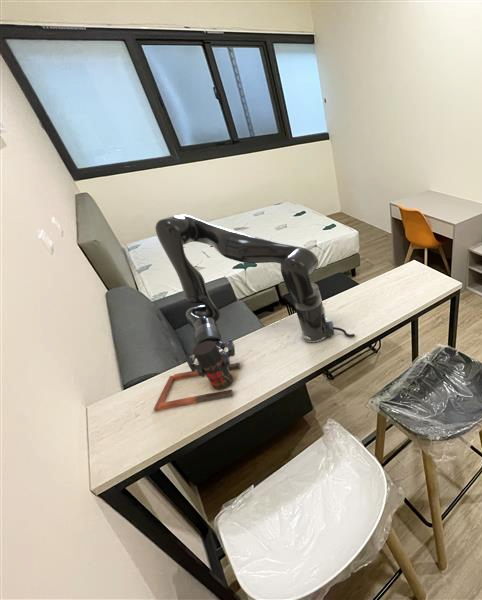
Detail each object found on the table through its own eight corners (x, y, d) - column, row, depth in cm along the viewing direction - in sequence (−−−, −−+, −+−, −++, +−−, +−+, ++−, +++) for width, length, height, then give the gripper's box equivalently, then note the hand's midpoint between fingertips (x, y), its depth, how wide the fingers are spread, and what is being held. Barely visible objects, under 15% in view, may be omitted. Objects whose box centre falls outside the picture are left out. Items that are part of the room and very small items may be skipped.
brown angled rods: (240, 365, 108) (239, 362, 107) (232, 396, 97) (230, 393, 96) (171, 378, 104) (169, 375, 104) (155, 411, 94) (152, 408, 93)
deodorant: (209, 385, 101) (188, 350, 93) (226, 372, 105) (208, 338, 97) (219, 393, 98) (199, 357, 90) (237, 380, 102) (219, 345, 94)
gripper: (178, 339, 102) (181, 371, 90) (227, 322, 108) (235, 350, 96) (188, 356, 106) (193, 389, 95) (234, 339, 113) (244, 368, 101)
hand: (214, 369), depth 95 cm, fingers closed on deodorant, 6 cm apart
